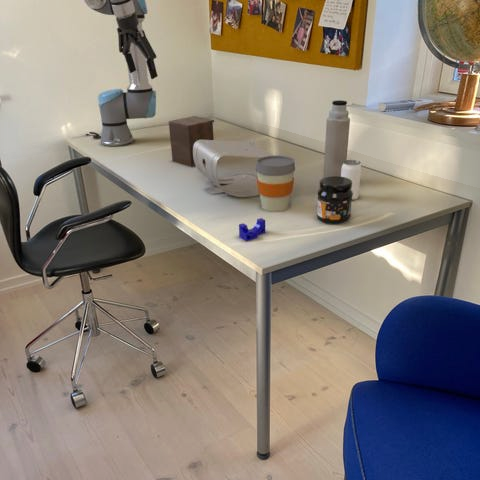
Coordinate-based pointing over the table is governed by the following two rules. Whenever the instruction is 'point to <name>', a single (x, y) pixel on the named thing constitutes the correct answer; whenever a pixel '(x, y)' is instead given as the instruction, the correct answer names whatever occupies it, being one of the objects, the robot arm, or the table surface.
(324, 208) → the supplement container
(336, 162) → the thermos bottle
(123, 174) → the table surface
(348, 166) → the can
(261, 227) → the cable holder
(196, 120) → the lid
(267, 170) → the reusable coffee cup
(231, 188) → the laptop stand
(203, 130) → the chest
